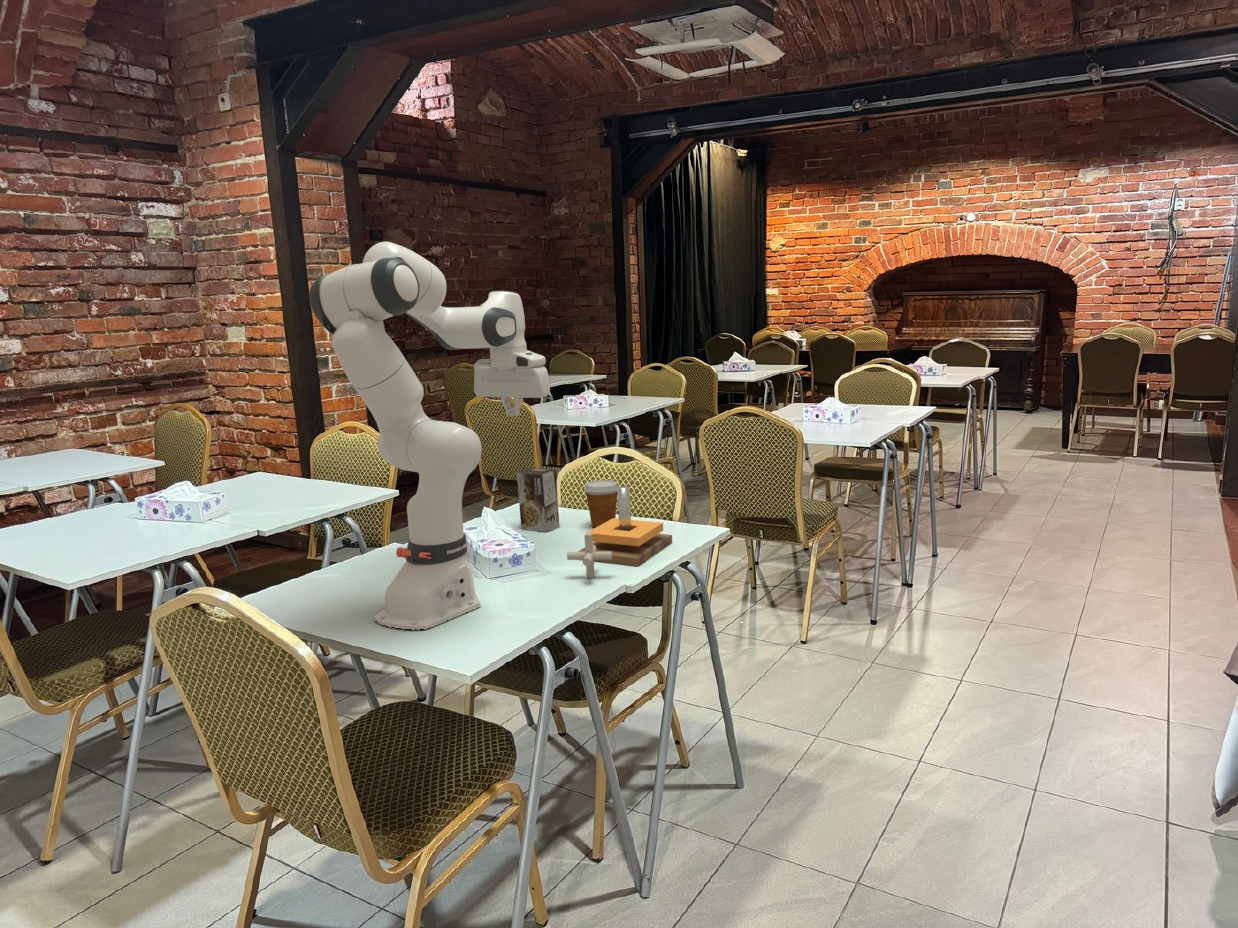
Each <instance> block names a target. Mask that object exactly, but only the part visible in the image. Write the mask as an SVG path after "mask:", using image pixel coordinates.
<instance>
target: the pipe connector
mask: <svg viewBox="0 0 1238 928" xmlns="http://www.w3.org/2000/svg"><path fill="white" fill-rule="evenodd" d="M583 537H584V548H585V552H578V551H568V552H566V560H567V561H582V565H584V566H585V569H586V578H587V579H593V578H595V577H596V576H595V561H594V560H605V559H612V551H607V552H596V549H597V548H596V546H595V545H593V535H592V533H587V532H585V533H584V536H583Z"/></svg>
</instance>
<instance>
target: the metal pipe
mask: <svg viewBox="0 0 1238 928" xmlns="http://www.w3.org/2000/svg"><path fill="white" fill-rule="evenodd" d="M617 509H618V510H617V511H618V519H619V530H623V531H631V530H632V529H631V520H632V512H631V510H632V509H631V489H630V486H626V485H625V486H619V487H618V488H617ZM615 545H617V546H630V545H621V544H615Z"/></svg>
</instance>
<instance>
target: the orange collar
mask: <svg viewBox="0 0 1238 928" xmlns="http://www.w3.org/2000/svg"><path fill="white" fill-rule="evenodd" d="M631 529H632V530H631V531H623V530H619V518H616V517H615V518H613V519H611V520H609V521H607V522H605V523H604V524H602V525H600V526H598V527H596V528H592V529H591V530H589V531H588V532H586V533H592V535H593V542H602V543H612V544H621V545H630V546H640V545H642V544H643V543H645V542H646V541H648V540H650V539H651V538H653V537H654V536H656V535H657V534H661V532H664V522H659V521H646V520H639V519H638V520H637V519H636V520H635V519H631Z"/></svg>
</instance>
